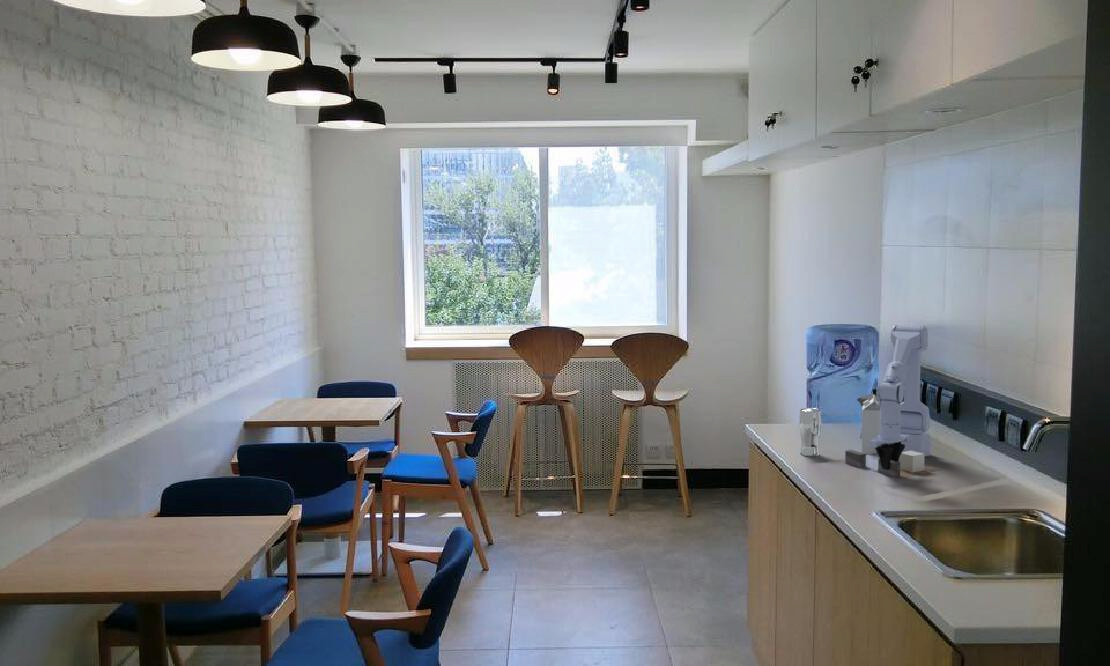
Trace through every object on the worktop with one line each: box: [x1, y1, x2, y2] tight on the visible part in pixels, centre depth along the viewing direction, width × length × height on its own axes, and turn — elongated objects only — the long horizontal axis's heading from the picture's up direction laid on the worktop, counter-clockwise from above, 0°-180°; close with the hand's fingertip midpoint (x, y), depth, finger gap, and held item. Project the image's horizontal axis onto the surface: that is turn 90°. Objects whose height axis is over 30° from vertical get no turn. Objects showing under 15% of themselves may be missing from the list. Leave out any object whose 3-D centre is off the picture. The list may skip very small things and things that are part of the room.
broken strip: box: [844, 449, 867, 468], centre depth 279 cm, size 18×9×5 cm, turn 118°
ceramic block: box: [898, 451, 926, 473], centre depth 269 cm, size 5×5×5 cm
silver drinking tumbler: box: [798, 407, 822, 458], centre depth 295 cm, size 7×7×15 cm
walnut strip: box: [872, 458, 941, 480], centre depth 268 cm, size 18×10×5 cm, turn 118°
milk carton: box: [860, 395, 880, 456], centre depth 294 cm, size 7×7×19 cm
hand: (889, 468), depth 264 cm, fingers closed on walnut strip, 2 cm apart
